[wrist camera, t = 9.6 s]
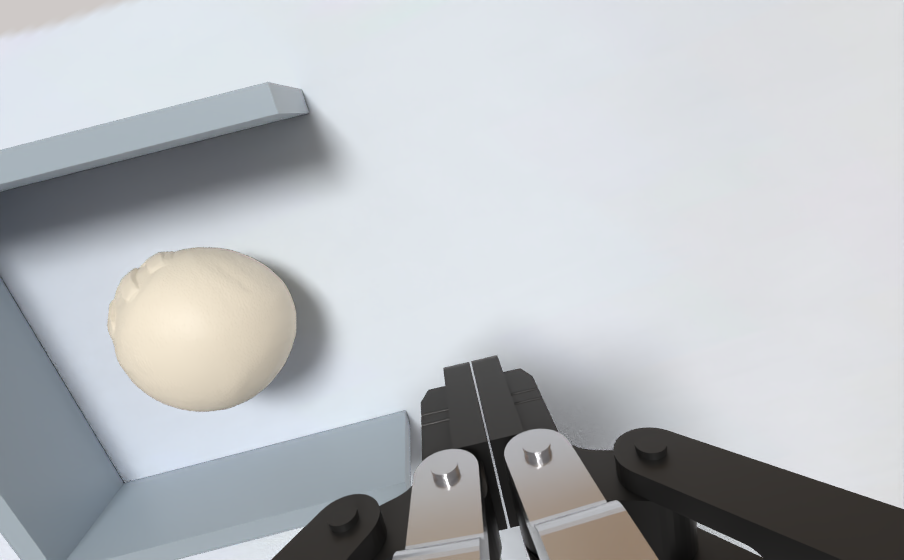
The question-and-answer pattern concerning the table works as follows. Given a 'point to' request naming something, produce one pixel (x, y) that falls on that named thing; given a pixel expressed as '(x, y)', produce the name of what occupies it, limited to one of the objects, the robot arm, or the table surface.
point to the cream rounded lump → (202, 327)
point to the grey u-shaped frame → (183, 490)
